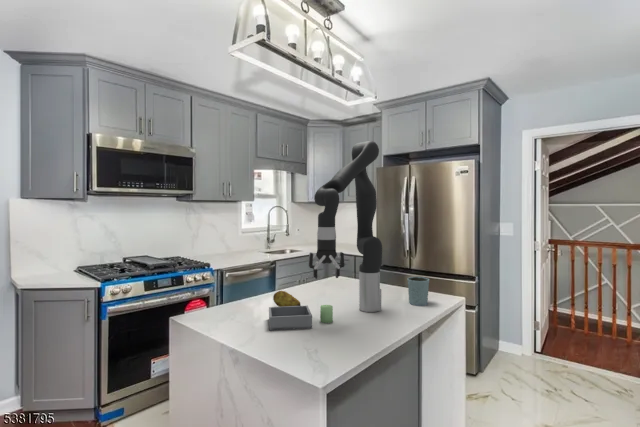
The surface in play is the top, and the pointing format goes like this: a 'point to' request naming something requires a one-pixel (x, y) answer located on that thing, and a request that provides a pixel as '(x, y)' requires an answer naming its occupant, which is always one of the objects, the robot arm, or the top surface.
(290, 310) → the bin
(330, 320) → the cucumber chunk
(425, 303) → the teal cup
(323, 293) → the top surface
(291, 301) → the potato
